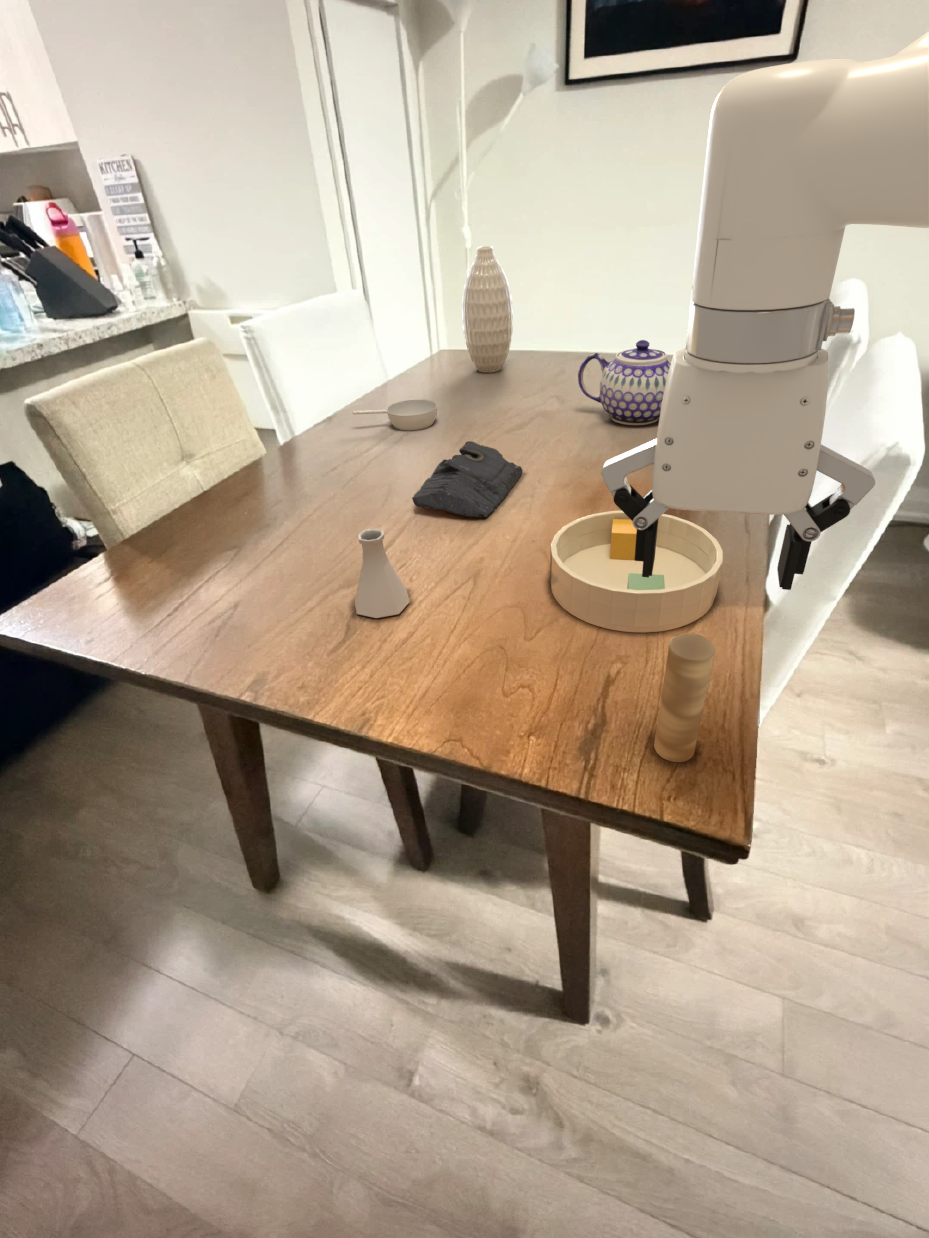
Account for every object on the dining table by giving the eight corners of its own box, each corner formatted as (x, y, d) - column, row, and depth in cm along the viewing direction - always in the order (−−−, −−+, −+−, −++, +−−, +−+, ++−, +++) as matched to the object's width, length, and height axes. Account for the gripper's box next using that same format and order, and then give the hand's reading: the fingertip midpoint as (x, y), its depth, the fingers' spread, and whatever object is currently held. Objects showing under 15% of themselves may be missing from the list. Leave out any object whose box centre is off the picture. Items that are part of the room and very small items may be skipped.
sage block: (660, 602, 77) (663, 574, 75) (661, 622, 74) (665, 593, 72) (625, 600, 78) (628, 572, 76) (625, 619, 75) (628, 591, 73)
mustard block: (640, 546, 89) (643, 519, 86) (640, 560, 85) (643, 534, 83) (610, 544, 89) (612, 518, 87) (609, 559, 86) (611, 532, 84)
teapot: (564, 423, 133) (566, 346, 124) (590, 400, 143) (593, 328, 135) (688, 437, 122) (700, 354, 113) (706, 411, 133) (718, 334, 124)
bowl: (716, 553, 87) (722, 517, 84) (714, 643, 72) (722, 603, 68) (566, 539, 93) (567, 504, 90) (534, 620, 77) (534, 581, 74)
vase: (523, 367, 170) (522, 244, 153) (492, 379, 162) (487, 251, 146) (486, 361, 177) (482, 243, 161) (455, 372, 170) (447, 250, 153)
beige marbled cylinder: (695, 737, 61) (715, 636, 54) (693, 765, 58) (715, 663, 51) (655, 730, 62) (670, 630, 55) (652, 758, 59) (668, 656, 52)
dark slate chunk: (397, 513, 103) (393, 486, 101) (447, 461, 120) (445, 436, 117) (487, 523, 98) (486, 495, 96) (527, 468, 115) (526, 442, 112)
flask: (414, 588, 85) (405, 520, 79) (405, 620, 79) (394, 549, 73) (361, 588, 86) (348, 520, 80) (348, 619, 80) (333, 549, 74)
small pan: (440, 429, 135) (439, 410, 132) (354, 438, 134) (351, 420, 131) (436, 413, 143) (434, 395, 141) (355, 421, 142) (352, 404, 140)
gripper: (904, 314, 39) (835, 558, 49) (614, 322, 44) (605, 541, 54) (935, 345, 33) (849, 614, 43) (598, 350, 39) (591, 589, 48)
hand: (713, 573), depth 49 cm, fingers open, 9 cm apart
